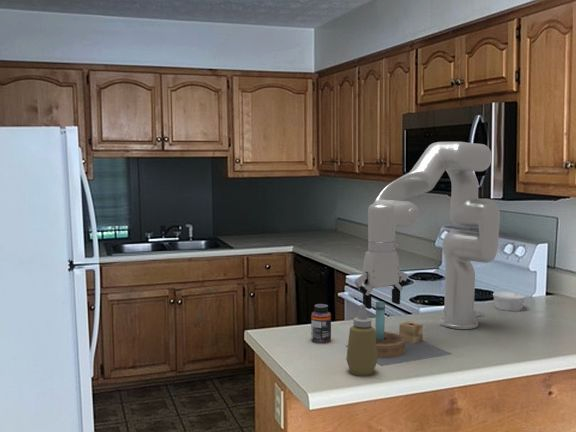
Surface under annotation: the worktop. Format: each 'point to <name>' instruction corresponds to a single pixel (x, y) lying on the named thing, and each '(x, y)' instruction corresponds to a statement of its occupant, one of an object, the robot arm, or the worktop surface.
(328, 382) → the worktop surface
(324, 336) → the supplement bottle
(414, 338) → the cube bead
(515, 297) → the ramekin
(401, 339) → the faceted wooden ring
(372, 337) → the squeeze bottle
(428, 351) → the felt mat
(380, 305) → the teal marker pen
